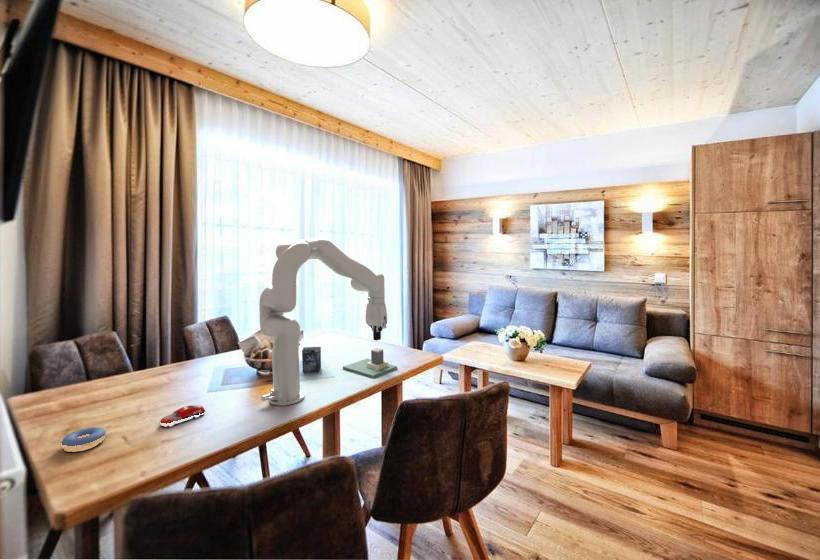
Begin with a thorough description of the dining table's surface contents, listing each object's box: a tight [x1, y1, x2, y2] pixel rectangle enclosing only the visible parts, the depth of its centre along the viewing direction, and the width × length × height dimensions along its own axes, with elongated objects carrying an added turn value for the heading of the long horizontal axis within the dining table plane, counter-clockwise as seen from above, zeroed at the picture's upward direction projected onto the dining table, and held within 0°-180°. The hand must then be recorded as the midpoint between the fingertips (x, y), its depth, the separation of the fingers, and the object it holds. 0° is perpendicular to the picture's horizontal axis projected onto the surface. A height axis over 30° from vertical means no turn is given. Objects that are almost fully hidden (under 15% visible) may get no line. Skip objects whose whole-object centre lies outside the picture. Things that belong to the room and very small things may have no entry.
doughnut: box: [60, 426, 107, 446], centre depth 108 cm, size 10×10×5 cm
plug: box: [370, 347, 385, 365], centre depth 173 cm, size 4×4×8 cm
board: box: [342, 358, 398, 379], centre depth 174 cm, size 16×20×3 cm
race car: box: [159, 404, 206, 424], centre depth 124 cm, size 13×5×4 cm, turn 140°
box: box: [301, 346, 322, 373], centre depth 172 cm, size 8×6×11 cm
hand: (377, 339), depth 172 cm, fingers closed
